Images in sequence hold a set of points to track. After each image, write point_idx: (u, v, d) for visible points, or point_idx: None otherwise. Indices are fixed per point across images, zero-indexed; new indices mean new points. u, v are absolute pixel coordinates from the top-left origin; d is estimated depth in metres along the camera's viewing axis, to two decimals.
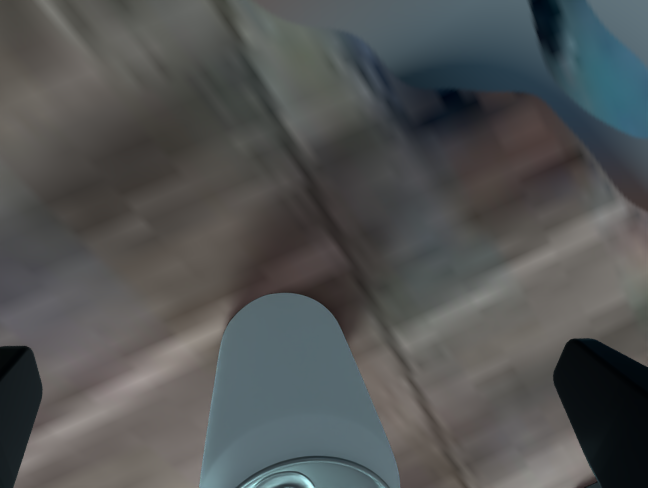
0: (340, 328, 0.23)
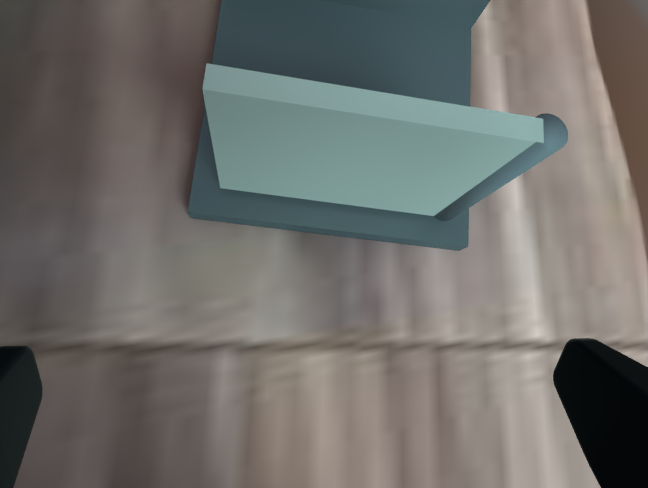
0: None
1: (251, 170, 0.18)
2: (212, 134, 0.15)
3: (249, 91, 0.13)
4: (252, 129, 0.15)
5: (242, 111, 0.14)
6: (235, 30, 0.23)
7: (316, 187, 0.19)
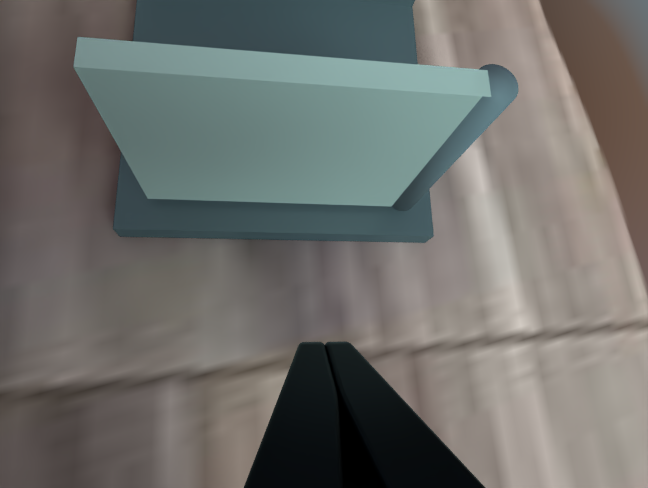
0: None
1: (173, 172, 0.16)
2: (110, 129, 0.13)
3: (133, 65, 0.11)
4: (154, 117, 0.12)
5: (132, 93, 0.11)
6: (155, 28, 0.21)
7: (252, 185, 0.17)
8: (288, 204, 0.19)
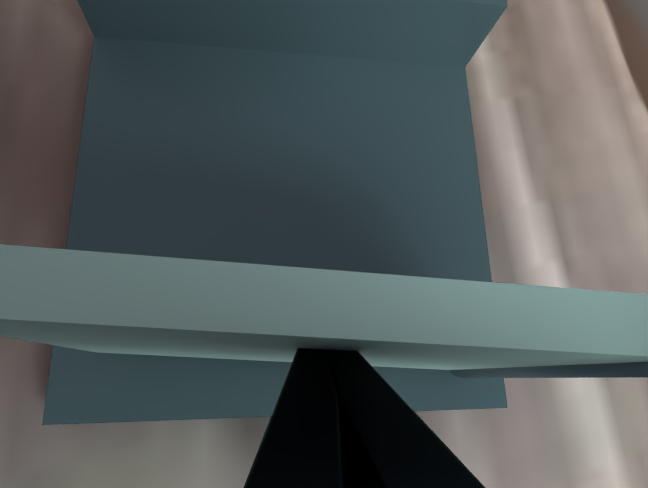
0: None
1: (125, 349, 0.10)
2: None
3: None
4: (65, 335, 0.07)
5: (6, 326, 0.06)
6: (114, 108, 0.15)
7: (249, 357, 0.11)
8: None
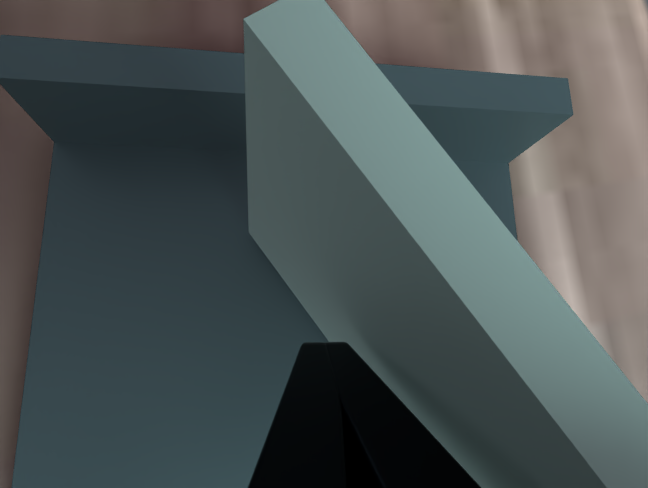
0: None
1: (286, 252, 0.09)
2: (249, 147, 0.07)
3: (336, 113, 0.04)
4: (305, 198, 0.06)
5: (300, 146, 0.05)
6: (79, 238, 0.12)
7: None
8: None
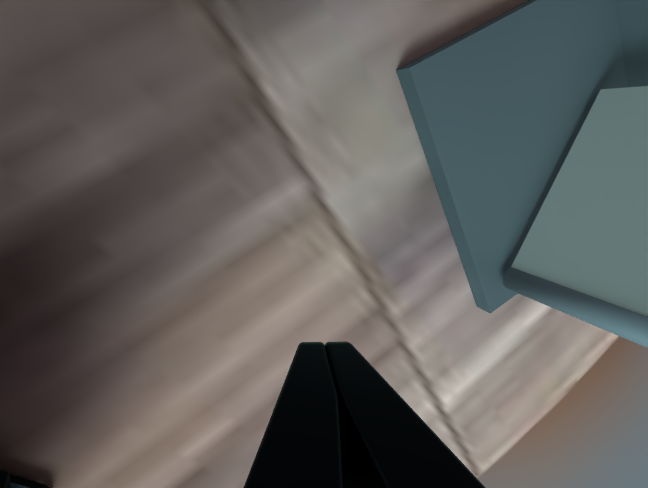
0: None
1: (640, 113, 0.21)
2: None
3: None
4: None
5: None
6: (573, 2, 0.22)
7: (594, 165, 0.22)
8: (476, 197, 0.22)
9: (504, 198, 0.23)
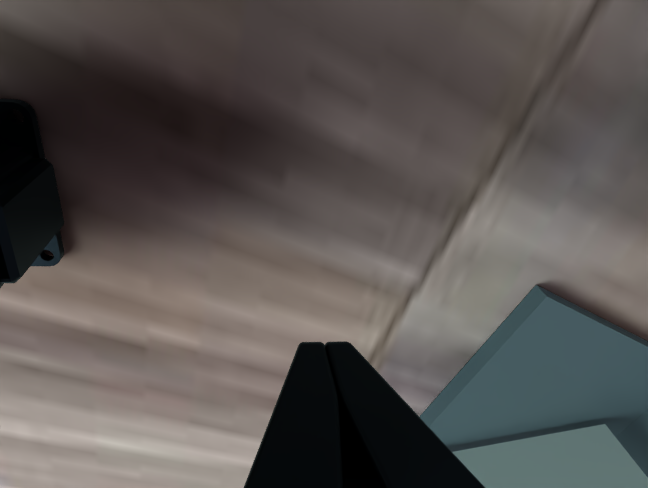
0: None
1: (612, 467, 0.25)
2: None
3: None
4: None
5: None
6: None
7: (555, 461, 0.25)
8: (478, 397, 0.25)
9: (488, 414, 0.26)
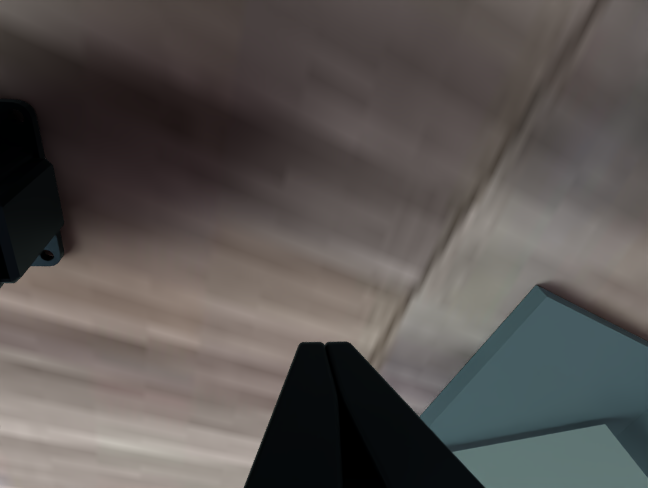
0: None
1: (612, 468, 0.25)
2: None
3: None
4: None
5: None
6: None
7: (555, 461, 0.25)
8: (478, 397, 0.25)
9: (488, 414, 0.26)
